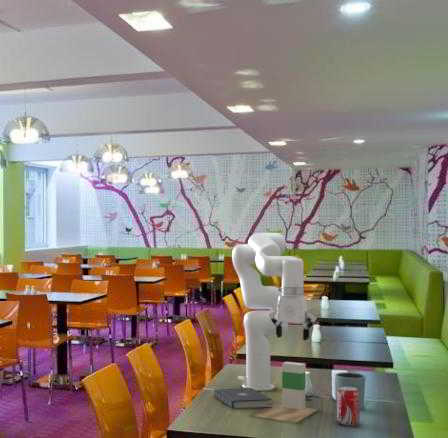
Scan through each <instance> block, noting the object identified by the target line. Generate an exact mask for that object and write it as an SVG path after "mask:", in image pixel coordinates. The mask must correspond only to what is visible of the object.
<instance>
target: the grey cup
mask: <svg viewBox="0 0 448 438" xmlns="http://www.w3.org/2000/svg"><path fill="white" fill-rule="evenodd" d="M366 378H367V376H366V375H365V374H363V373H359V372H358V373H357V372H352V371H351V372H350V371H348V372H343V373H337V374H336V380H337V392H338V390H339V387H343V386H347V387H354V388H357V391H358V393H359V411H363V410H364V407H365V392H366Z"/></svg>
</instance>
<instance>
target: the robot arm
mask: <svg viewBox="0 0 448 438" xmlns="http://www.w3.org/2000/svg"><path fill="white" fill-rule="evenodd" d="M286 246H287V242H286V238H285V237H284V236H283V234H281V233H279V232H256V233H253V234H252V235H251V236H249V238H248V240H247V243H241V244H238V245H236V246H234V248H233V249H232V252H231V260H232V265H233V269H234V270H235V272H236V275H237V276H238V279H239V284H240V290H241V295H242V300H243V303H244V306H245V307H246V308H247V309H249V310H251V311H248V312H246V313H245V315H244V317H243V326H244V332H245V342H246V344H245V349H246V351H245V353H246V355H245V359H246V361H245V362H246V363H245V364H246V369H245V372H246V373H245V374H246V375H244V376H243V375H237V377H236V378H237V381H238V382H243V383H242V388H252V389H254V390H256V391H258V392H264V391H266V392H267V391H273V390H275V385H274V384H271V381H272V380H271V379H272V378H271V377H272V376H271V344H270V342H269V340H268V339H267V337H266V335H275V336H276V338H281V337H283V334H285V333H286V332H287V331H288V328H289V324H295V325H296V324H297V325H302V327H303V330H302V340H303V341H307V340H309V338H310V329H311V328H312V327H313V326H314V325H315V323H316V322H317V319H318V318H317V316H315V315H314V314H312V313H310V312H308V303H307V298H306V295H304V269H305V268H304V267H305V265H304V260H303V259H302V258H300V257H297V256H293V255H282V254H283V253H284V251H285V250H286ZM251 265H255V266H256V268H254V267H253V266H251ZM256 269H257V270H258V271H259V272H260V273H261V274H262V275H264V276H266V277H281V287H278V286H275V285H274V286H273V285H263V283H262V279H261V275H260V273H259V272H258V271H257V270H256ZM308 319H310V322H308Z"/></svg>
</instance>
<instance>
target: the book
mask: <svg viewBox="0 0 448 438" xmlns="http://www.w3.org/2000/svg"><path fill="white" fill-rule="evenodd" d="M213 394H214V397H215V398H216V399H218V400H219V401H220V402H222V403H224V404H225V405H226V406H227V407H229V408H231V409H233V410H236V409H237V410H239V409H241V410H242V409H243V410H244V409H265V408H272V407H271V405H270V404H269V401H272V400H273V399H272V398H270V397H269V396H267V395H265V394H263V393H261V391H256V390H254V389H252V388H243V387H234V388H233V387H231V388H230V387H229V388H214V392H213Z"/></svg>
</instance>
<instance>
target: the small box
mask: <svg viewBox="0 0 448 438" xmlns="http://www.w3.org/2000/svg"><path fill="white" fill-rule="evenodd" d="M343 372H349V371H348V370H343V369H331V396H332V398H333V399H334V400H335V401H337V380H336V374H337V373H343Z"/></svg>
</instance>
